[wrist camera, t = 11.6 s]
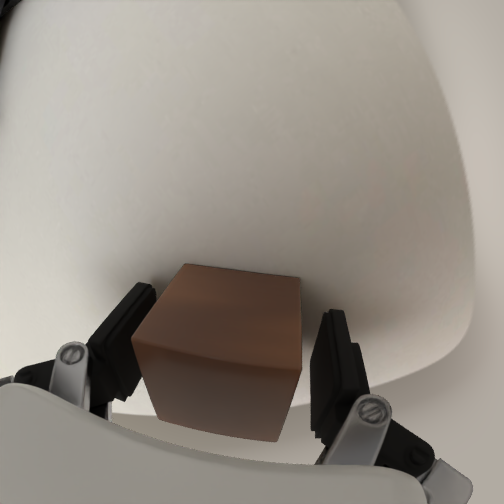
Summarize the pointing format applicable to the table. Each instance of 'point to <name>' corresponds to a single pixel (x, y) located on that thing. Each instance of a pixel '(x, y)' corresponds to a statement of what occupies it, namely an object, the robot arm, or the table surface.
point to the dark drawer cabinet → (8, 6)
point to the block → (223, 351)
